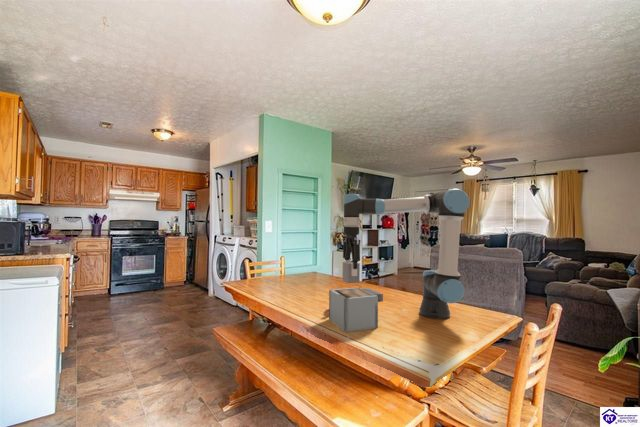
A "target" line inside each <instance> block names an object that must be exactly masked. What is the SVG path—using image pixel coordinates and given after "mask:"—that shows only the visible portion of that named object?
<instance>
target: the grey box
mask: <svg viewBox="0 0 640 427" xmlns="http://www.w3.org/2000/svg"><path fill="white" fill-rule="evenodd" d="M350 289H361V288H360V287H347V288H337V289H336V288H335V289H333V288H332V289H329V291H328V292H329V294H328V295H329V296H328V297H329V298H328V300H329V301H328V308H329V309H328V312H329V313H328V315H329V316H328V320H330V321H331V322H332V323H333V324H334V325H335V326H337V327H338V328H339V329H341V330H342V331H343V332H344V333H348V332H357V331H365V330H372V329H377V328H379V323H378V322H379V316H378V315H379V302H378V296H377V295H373V296H362V297H351V298H347V297H346V296H344V295H342V294H340V293H338V290H350Z"/></svg>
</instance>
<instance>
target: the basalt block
mask: <svg viewBox="0 0 640 427" xmlns="http://www.w3.org/2000/svg"><path fill="white" fill-rule="evenodd" d="M360 268H361V267H360V263H359V262H357V276H351V262H345V261H344V262H342V282H344V283H345V284H355V283H356V284H357V283H358V284H359V283H360V278H361V276H360V275H361V273H360Z"/></svg>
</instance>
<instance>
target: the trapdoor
mask: <svg viewBox="0 0 640 427" xmlns="http://www.w3.org/2000/svg"><path fill="white" fill-rule="evenodd" d="M338 293H340V294H342V295H344V296H346V297H347V298H351V297H362V296H373V295H377V296H378V303H379V302H384V293H381V292H379V291H377V290H375V289H372V288H369V287H366V288H360V289H350V290H338Z"/></svg>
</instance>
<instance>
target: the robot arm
mask: <svg viewBox="0 0 640 427" xmlns="http://www.w3.org/2000/svg"><path fill="white" fill-rule="evenodd" d="M470 202H471V201H470V197H469V195H468V193H466V192H465V191H464V190H462V189H460V188H449V189H446V190H442V191H440V192H435V193H430V194H424V195H422V196H417V197H415V196H414V197H404V198H403V197H402V198H387V199H382V198H361V197H360V194H356V193H347V194H345V195H344V198H343V219H342V221H343V235H346V236H345V237H343V239H342V242H343V244H342V245H343V247H342V248H343V249H342V259H344V260H345V261H344V262H351V276H357V263H359V262H360V261H361V248H360V246H361V240H360V239H358V236H357V235H360V227H359V226H360V215H364V216H370V215H371V216H372V215H378V216H379V215H384V214H399V213H400V214H401V213H414V212H415V213H416V212H417V213H418V212H424V213H425V214H429V213H430V214H431V213H433V214H437V215H438V218H439V219H440V220H441V221H440V235H439V253H438V268H437V269H436V270H433V269H432V270H430V269H429V270H424V271H423V272H422V300H421V304H420V307H419V310H418V311H419V314H420V315H421V316H423V317H426V318H430V319H442V320H443V319H447V318H450V317H451V310H450V308H449V307H450V306H449V304H455V303H458V302H459V301H460V300H461V299H462V298H463V297H464V295H465V287H464V285H463V283H462V282H461V276H462V275H461V273H460V272H459V271H458V264H459V263H458V262H459V249H460V236H461V235H460V234H461V221H462V220H463V219H465V214H466V213H465V212H466V211H467V210H468V209H469V208H470Z"/></svg>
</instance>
